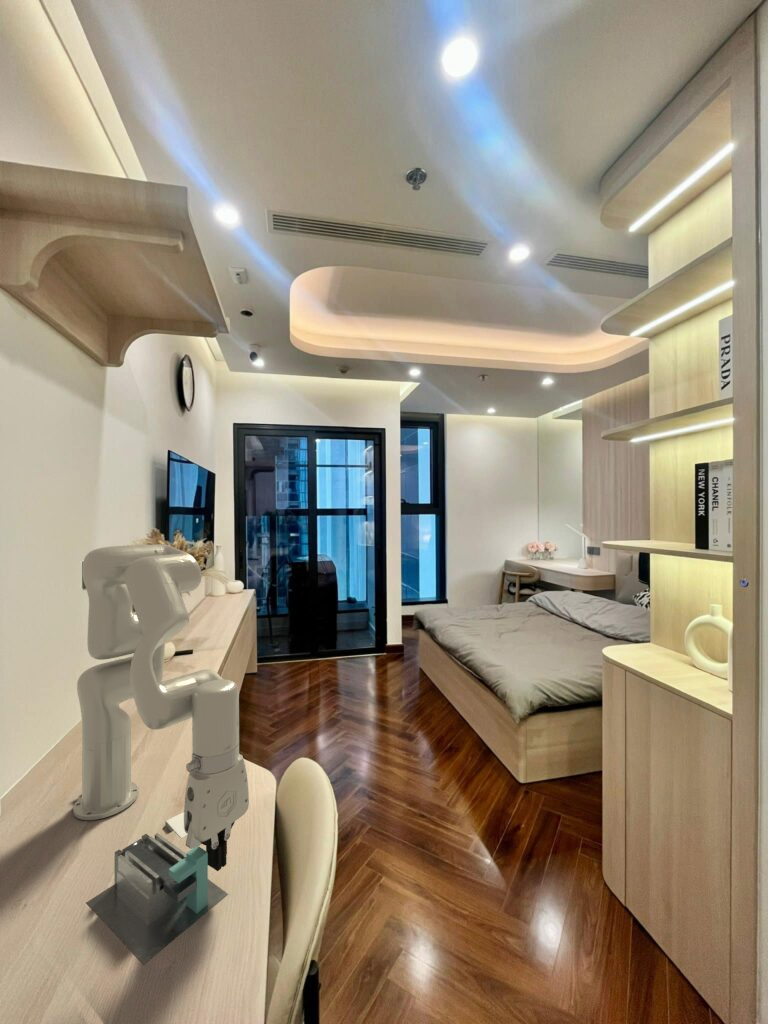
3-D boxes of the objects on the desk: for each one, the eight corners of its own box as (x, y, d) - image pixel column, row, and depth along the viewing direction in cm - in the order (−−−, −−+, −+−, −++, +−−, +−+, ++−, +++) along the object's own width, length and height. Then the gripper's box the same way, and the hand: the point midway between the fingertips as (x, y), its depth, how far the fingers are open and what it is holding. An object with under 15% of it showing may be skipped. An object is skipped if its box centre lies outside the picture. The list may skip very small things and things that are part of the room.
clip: (168, 919, 69) (168, 865, 69) (197, 896, 73) (197, 845, 73) (178, 928, 67) (178, 872, 68) (207, 904, 72) (207, 852, 72)
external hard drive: (165, 828, 92) (221, 799, 101) (181, 847, 86) (239, 815, 96) (165, 820, 92) (220, 792, 101) (181, 838, 87) (239, 807, 96)
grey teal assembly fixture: (86, 908, 72) (86, 863, 72) (168, 854, 84) (168, 815, 84) (143, 971, 62) (143, 918, 62) (228, 900, 73) (228, 855, 74)
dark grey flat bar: (121, 856, 77) (121, 848, 77) (139, 845, 79) (139, 837, 79) (177, 903, 67) (177, 893, 67) (197, 888, 69) (197, 879, 69)
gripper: (189, 785, 67) (189, 908, 66) (264, 743, 79) (265, 846, 79) (161, 770, 71) (161, 885, 70) (237, 733, 83) (238, 830, 83)
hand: (216, 864), depth 75 cm, fingers closed
